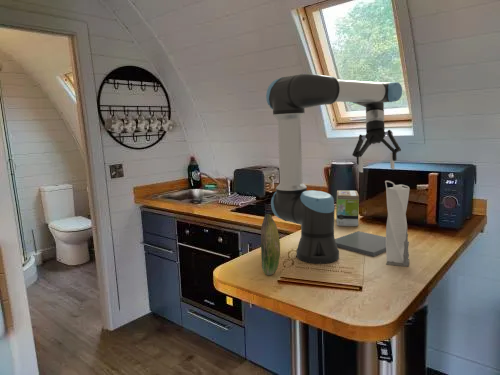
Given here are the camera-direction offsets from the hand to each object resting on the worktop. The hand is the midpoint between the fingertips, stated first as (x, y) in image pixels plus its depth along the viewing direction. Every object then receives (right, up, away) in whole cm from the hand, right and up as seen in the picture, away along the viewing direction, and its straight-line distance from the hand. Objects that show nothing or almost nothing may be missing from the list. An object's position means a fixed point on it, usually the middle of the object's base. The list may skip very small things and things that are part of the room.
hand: (376, 170), depth 163 cm
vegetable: (-47, -36, -40) cm, 71 cm away
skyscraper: (-4, -33, -31) cm, 45 cm away
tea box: (-7, -24, +23) cm, 34 cm away
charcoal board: (-8, -30, -12) cm, 33 cm away
